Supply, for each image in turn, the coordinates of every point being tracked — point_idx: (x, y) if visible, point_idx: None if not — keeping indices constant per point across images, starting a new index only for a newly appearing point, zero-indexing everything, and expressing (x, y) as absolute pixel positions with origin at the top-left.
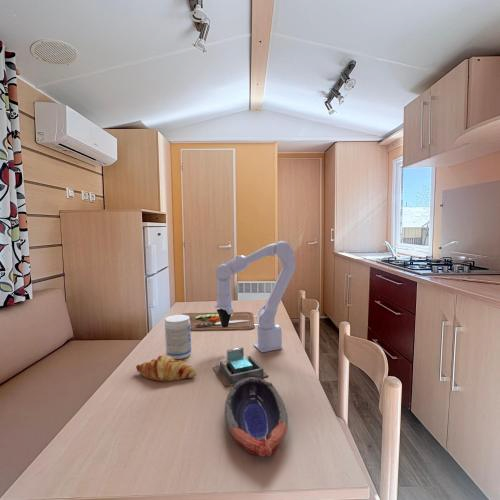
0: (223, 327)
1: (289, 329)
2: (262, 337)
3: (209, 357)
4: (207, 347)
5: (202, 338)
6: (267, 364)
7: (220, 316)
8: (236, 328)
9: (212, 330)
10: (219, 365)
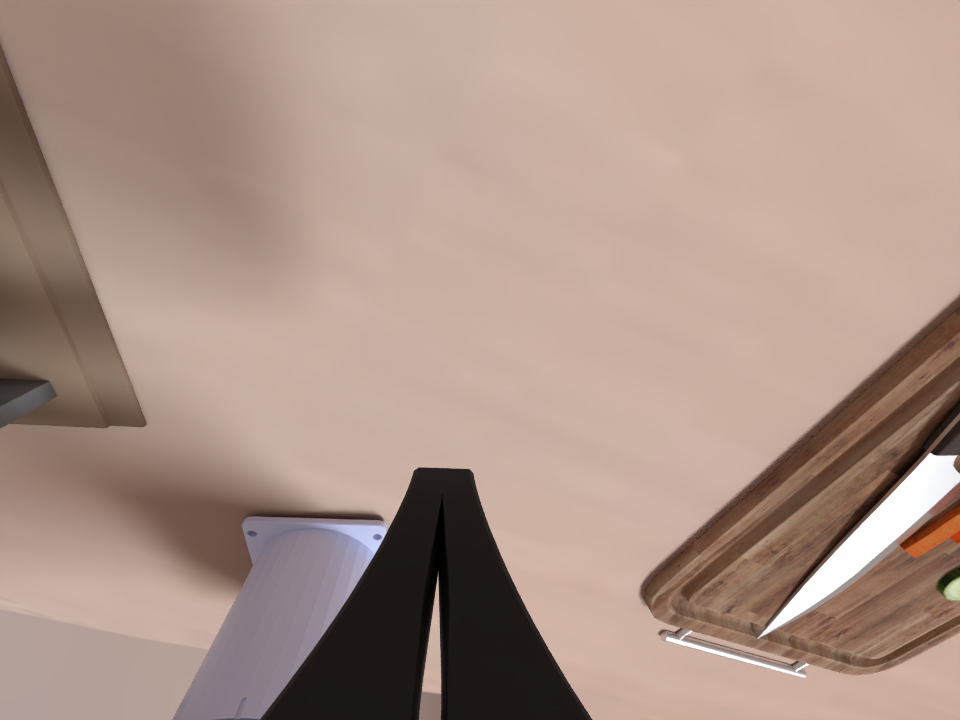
0: (413, 473)
1: None
2: (229, 629)
3: (283, 110)
4: (545, 197)
5: (790, 239)
6: (47, 475)
7: (381, 708)
8: (719, 538)
9: (867, 391)
10: (24, 126)
